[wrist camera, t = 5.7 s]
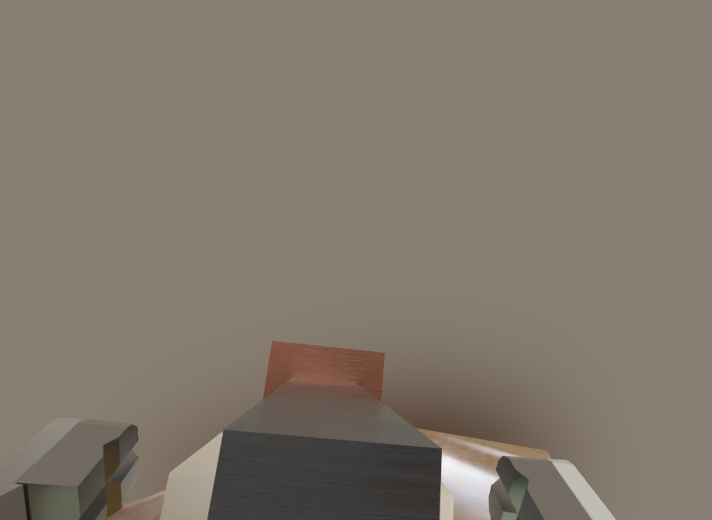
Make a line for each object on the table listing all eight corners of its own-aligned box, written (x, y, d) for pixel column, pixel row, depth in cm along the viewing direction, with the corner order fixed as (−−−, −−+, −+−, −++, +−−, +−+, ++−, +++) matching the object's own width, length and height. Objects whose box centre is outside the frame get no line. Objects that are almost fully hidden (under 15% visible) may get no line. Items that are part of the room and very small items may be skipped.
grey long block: (65, 719, 4) (164, 309, 5) (270, 427, 21) (282, 344, 22) (526, 734, 5) (516, 347, 6) (364, 435, 21) (370, 353, 23)
